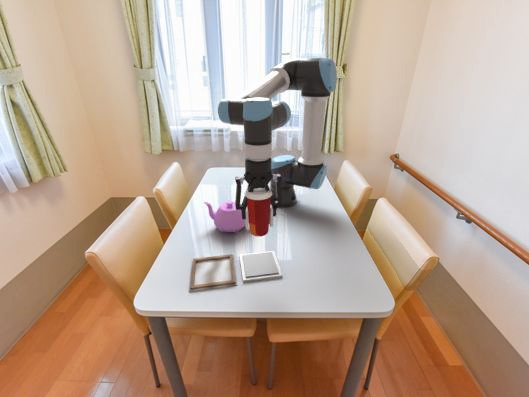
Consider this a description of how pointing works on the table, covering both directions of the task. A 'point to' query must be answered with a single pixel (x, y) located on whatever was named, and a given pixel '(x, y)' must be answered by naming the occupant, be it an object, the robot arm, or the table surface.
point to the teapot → (227, 217)
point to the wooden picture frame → (212, 272)
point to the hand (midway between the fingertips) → (259, 225)
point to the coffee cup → (258, 210)
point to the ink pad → (259, 266)
